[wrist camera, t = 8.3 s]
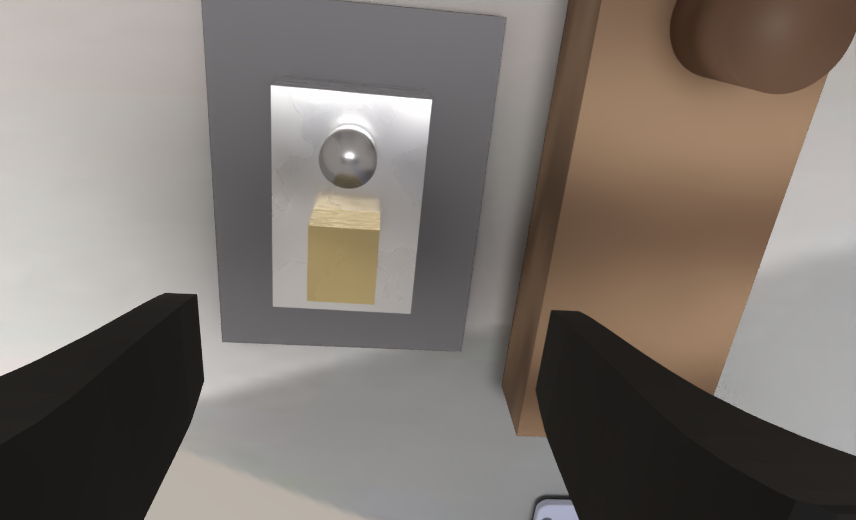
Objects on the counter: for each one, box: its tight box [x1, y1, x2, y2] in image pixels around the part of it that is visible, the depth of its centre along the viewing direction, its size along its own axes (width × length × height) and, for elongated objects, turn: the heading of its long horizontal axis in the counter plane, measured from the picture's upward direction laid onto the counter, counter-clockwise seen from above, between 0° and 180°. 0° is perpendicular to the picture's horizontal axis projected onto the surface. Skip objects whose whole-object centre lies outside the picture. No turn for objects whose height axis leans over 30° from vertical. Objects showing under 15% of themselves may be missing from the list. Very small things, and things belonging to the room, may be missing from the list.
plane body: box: [502, 0, 856, 437], centre depth 18 cm, size 16×7×7 cm, turn 175°
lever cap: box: [271, 76, 432, 314], centre depth 18 cm, size 7×4×4 cm, turn 174°
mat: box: [201, 0, 507, 351], centre depth 20 cm, size 12×9×1 cm
